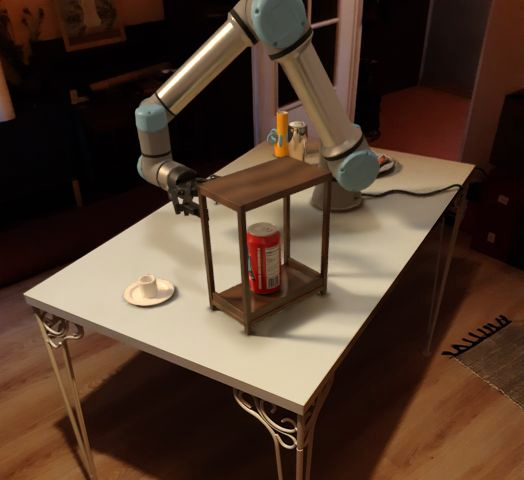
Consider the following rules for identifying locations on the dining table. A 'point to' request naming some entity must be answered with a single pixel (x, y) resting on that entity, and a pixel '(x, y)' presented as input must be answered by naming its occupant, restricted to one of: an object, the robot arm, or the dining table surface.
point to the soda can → (264, 258)
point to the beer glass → (297, 139)
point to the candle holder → (148, 291)
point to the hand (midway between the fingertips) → (232, 206)
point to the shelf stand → (293, 272)
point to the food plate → (384, 161)
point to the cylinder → (280, 135)
